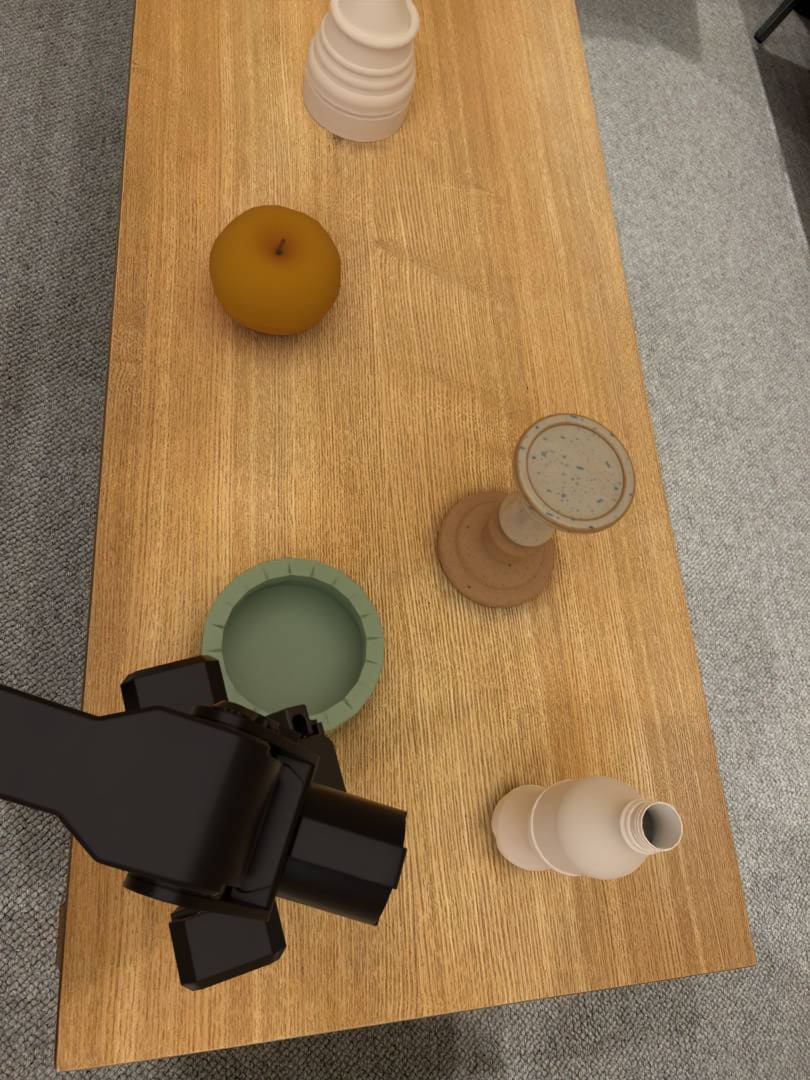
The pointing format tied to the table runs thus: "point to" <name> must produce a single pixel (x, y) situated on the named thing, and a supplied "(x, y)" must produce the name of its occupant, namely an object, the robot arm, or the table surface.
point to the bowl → (296, 640)
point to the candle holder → (536, 510)
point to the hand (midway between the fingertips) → (201, 814)
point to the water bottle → (583, 827)
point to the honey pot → (362, 68)
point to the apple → (275, 270)
